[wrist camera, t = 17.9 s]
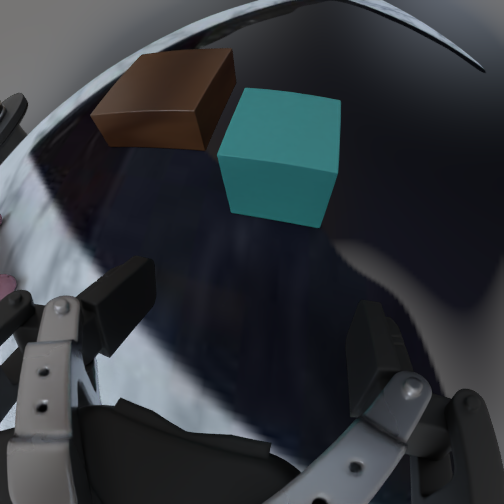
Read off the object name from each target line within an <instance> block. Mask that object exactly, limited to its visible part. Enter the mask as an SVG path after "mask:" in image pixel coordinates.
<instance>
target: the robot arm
mask: <svg viewBox="0 0 504 504" xmlns="http://www.w3.org/2000/svg"><path fill="white" fill-rule="evenodd" d="M6 111H7V109H6V108H5V106H4V105H2V102H1V101H0V123H1V121H2V119H3V118H4V116H5V114H6ZM155 300H156V281H155V265H154V261H153V260H152V259H149V258H144V257H140V256H133V257H132V258H131V259H129V260H128V261H127V262H125V263H124V264H123V265H120V266H117V267H115V268H112V269H111V270H109V271H108V272H107V273H105V274H104V275H103V277H100V278H99V279H98V280H97V282H96V281H95V282H94V283H93V284H91V285H90V286H89V287H88V288H86V289H85V290H84V291H83V292H81V293H80V294H79V295H78V296H77V297H73V296H59V297H56V298H54V299H52V300H50V301H49V302H48V303H47V304H46V305H37V304H34V303H33V299H32V296H31V294H30V292H28V291H26V290H18V291H14V292H11V293H10V294H8V295H7V296H5V297H4V298H3V299H1V300H0V346H1V345H2V344H3V343H4V342H5V341H6V340H7V339H8V338H9V337H10V336H11V335H12V334H13V336H14V338H15V340H16V342H17V344H18V348H17V349H16V350H15V351H14V352H13V353H12V354H11V355H10V356H9V357H8V358H7V359H6V361H5V362H4V363H3V364H2V365H1V366H0V423H1V421H2V420H3V418H4V417H5V416H6V414H7V413H8V412H9V410H10V409H11V408H12V406H13V405H14V404H15V402H16V401H17V406H16V418H15V428H11V429H7V430H3V431H0V504H368V503H369V501H370V500H371V499H372V498H373V496H374V495H375V494H376V493H377V491H378V490H379V489H380V487H381V486H382V485H383V484H384V482H385V481H386V479H387V478H388V477H389V475H390V474H391V472H392V471H393V470H394V468H395V467H396V465H397V464H398V462H399V461H400V459H401V458H402V456H403V455H404V453H405V454H408V455H410V471H411V504H504V469H503V464H502V459H501V455H500V451H499V447H498V443H497V439H496V436H495V432H494V428H493V425H492V422H491V419H490V416H489V412H488V409H487V407H486V404H485V402H484V400H483V398H482V397H481V396H480V395H479V394H478V393H476V392H475V391H473V390H470V389H461V390H459V391H458V392H456V394H455V395H454V396H453V398H452V399H450V398H447V397H443V396H440V395H437V394H434V393H432V390H431V387H430V385H429V383H428V381H427V380H426V379H425V378H424V377H422V376H421V375H419V374H417V373H415V372H414V371H413V368H412V365H411V362H410V359H409V356H408V353H407V350H406V347H405V346H404V341H403V338H402V335H401V332H400V330H399V327H398V325H397V324H396V323H395V322H394V321H393V320H392V319H391V318H390V317H385V314H384V311H383V308H382V306H381V303H379V302H373V301H367V300H360V302H359V304H358V306H357V309H356V312H355V315H354V317H353V320H352V323H351V325H350V328H349V331H348V334H347V337H346V344H345V351H346V361H347V373H348V387H349V403H350V417H358V418H357V419H356V420H355V421H354V422H353V423H352V424H351V425H350V426H349V427H348V428H347V429H346V430H345V432H344V433H343V434H342V435H341V436H340V437H339V438H338V439H337V440H336V441H335V442H334V443H333V444H332V445H331V446H330V447H329V448H328V449H327V450H326V451H325V452H324V453H323V454H322V455H320V456H319V457H318V458H317V459H316V460H315V461H314V462H313V463H312V464H311V465H310V466H308V467H307V468H306V469H305V470H304V471H303V472H302V473H301V472H300V471H299V470H298V469H297V468H295V467H294V466H293V465H291V464H290V463H288V462H287V461H285V460H284V459H282V458H280V457H278V456H276V455H273V454H271V453H269V452H270V447H271V443H269V442H264V441H258V440H253V439H248V438H243V437H239V436H234V435H225V434H206V433H192V432H187V431H184V430H183V429H181V428H179V427H178V426H176V425H174V424H173V423H171V422H169V421H168V420H166V419H165V418H163V417H161V416H160V415H158V414H157V413H155V412H154V411H152V410H149V409H147V408H144V407H142V406H139V405H137V404H134V403H132V402H130V401H127V400H125V399H123V398H120V399H119V400H118V402H117V403H116V405H115V406H109V405H102V404H101V399H100V391H99V381H98V369H97V360H96V356H97V354H98V353H100V354H103V355H105V356H107V357H109V358H110V357H111V356H112V355H113V353H114V352H115V351H116V350H117V349H118V347H119V346H120V345H121V344H122V343H123V341H124V340H125V339H126V338H127V337H128V335H129V334H130V333H131V332H132V331H133V329H134V328H135V327H136V326H137V325H138V323H139V322H140V321H141V320H142V319H143V318H144V316H145V315H146V314H147V313H148V312H149V311H150V309H151V308H152V307H153V305H154V303H155ZM451 450H452V454H453V461H454V475H453V477H452V468H451V461H450V454H449V452H450V451H451Z"/></svg>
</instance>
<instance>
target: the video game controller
mask: <svg viewBox="0 0 504 504" xmlns="http://www.w3.org/2000/svg"><path fill="white" fill-rule="evenodd" d="M1 223H2V216H1V214H0V224H1ZM16 286H17V284H16V280H15V278H14V277H13V276H11V275H7V274H0V300H1V299H3V298H4V297H5V296H7V295H8V294H10V293H11V292H13V291H14V289H15V288H16Z"/></svg>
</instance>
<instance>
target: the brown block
mask: <svg viewBox="0 0 504 504" xmlns="http://www.w3.org/2000/svg"><path fill="white" fill-rule="evenodd" d="M235 85H236V76H235V69H234V60H233V51H232V49H231V48H225V49H223V48H222V49H221V48H220V49H192V50H178V51H167V52H158V53H150V54H143V55H141V56H140V57H139V58H138V59H137V60H136V61H135V62H134V63H133V64H132V65H131V67H130V68H129V69H128V70H127V71H126V72H125V73H124V74H123V75H122V76H121V78H120V79H119V80H118V81H117V82H116V83H115V85H114V86H113V87H112V88H111V89H110V91H109V92H108V93H107V94H106V96H105V97H104V98H103V99H102V101H101V102H100V103H99V104H98V106H97V107H96V108H95V110H94V111H93V112H92V114H91V117H92V119H93V121H94V122H95V124H96V125H97V127H98V129H99V130H100V132H101V134H102V135H103V137H104V138H105V140H106V141H107V143H108V145H109V146H110V147H154V148H174V149H190V150H203V151H205V150H206V148H207V146H208V143H209V141H210V139H211V137H212V134H213V132H214V130H215V127H216V125H217V123H218V121H219V119H220V116H221V114H222V112H223V110H224V108H225V106H226V104H227V101H228V99H229V97H230V95H231V93H232V91H233V89H234V87H235Z"/></svg>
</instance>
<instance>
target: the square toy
mask: <svg viewBox="0 0 504 504" xmlns="http://www.w3.org/2000/svg"><path fill="white" fill-rule="evenodd" d="M340 121H341V101H340V100H335V99H330V98H324V97H319V96H313V95H307V94H299V93H293V92H285V91H277V90H266V89H255V88H245V89H244V91H243V94H242V96H241V98H240V101H239V103H238V105H237V108H236V110H235V112H234V114H233V117H232V119H231V122H230V124H229V126H228V129H227V131H226V134H225V136H224V139H223V141H222V144H221V146H220V149H219V151H218V154H217V156H218V160H219V165H220V169H221V173H222V177H223V181H224V185H225V189H226V193H227V197H228V201H229V206H230V210H231V213H236V214H242V215H248V216H254V217H260V218H266V219H272V220H277V221H283V222H288V223H294V224H299V225H305V226H310V227H315V228H320V226H321V223H322V220H323V217H324V214H325V211H326V209H327V206H328V202H329V200H330V197H331V194H332V190H333V188H334V184H335V181H336V178H337V175H338V167H339V150H340V124H341V123H340Z"/></svg>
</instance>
